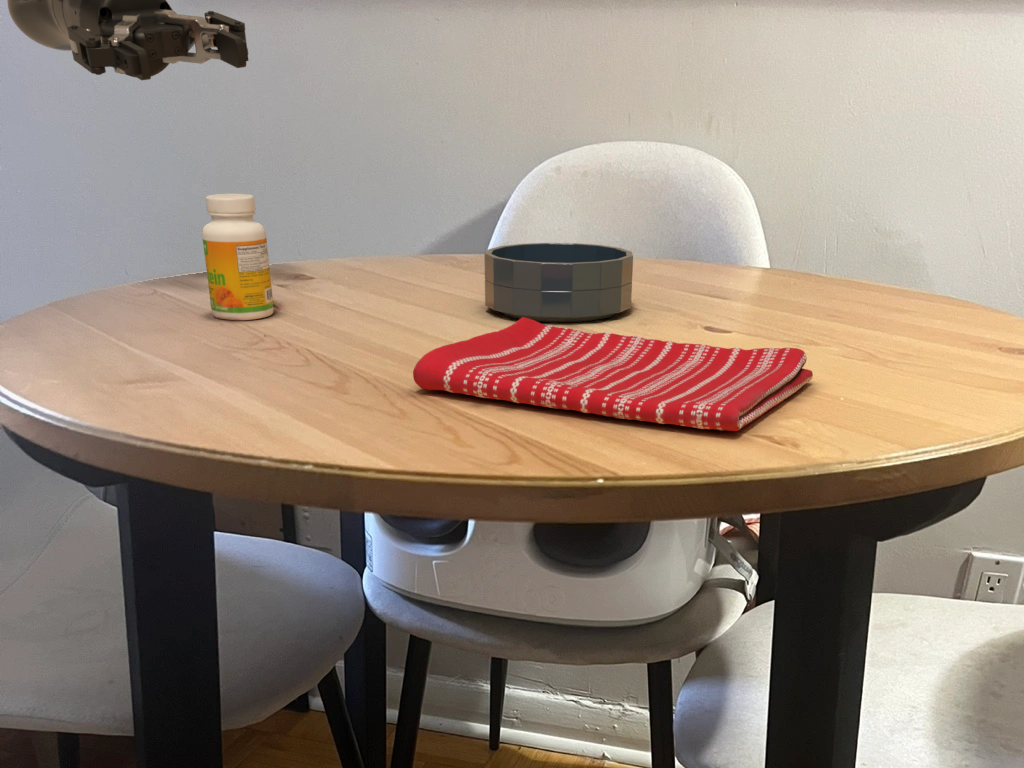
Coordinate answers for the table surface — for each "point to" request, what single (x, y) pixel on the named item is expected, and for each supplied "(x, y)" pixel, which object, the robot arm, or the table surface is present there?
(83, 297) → the table surface
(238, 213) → the supplement bottle
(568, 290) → the fruit bowl
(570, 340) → the dish towel
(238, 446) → the table surface
